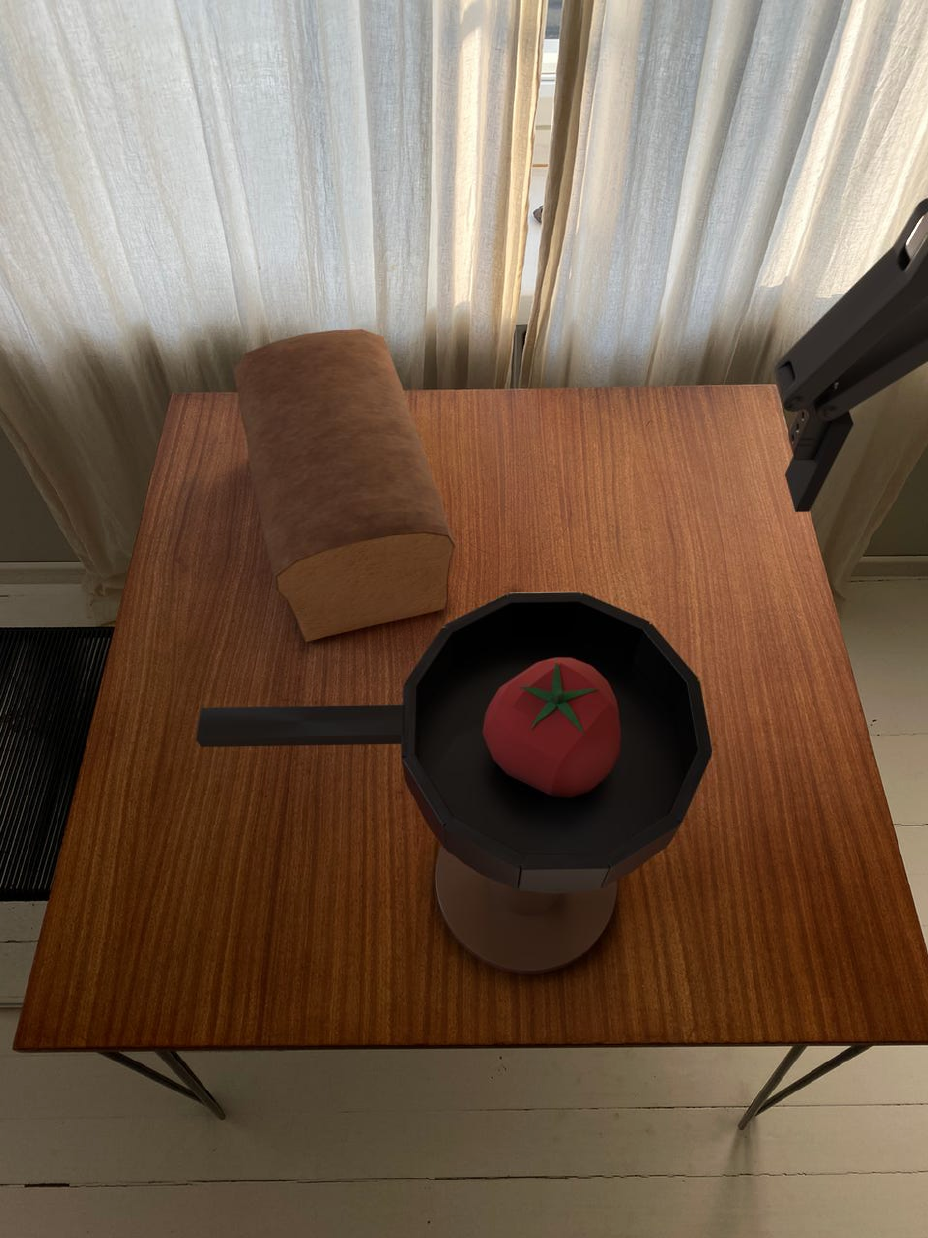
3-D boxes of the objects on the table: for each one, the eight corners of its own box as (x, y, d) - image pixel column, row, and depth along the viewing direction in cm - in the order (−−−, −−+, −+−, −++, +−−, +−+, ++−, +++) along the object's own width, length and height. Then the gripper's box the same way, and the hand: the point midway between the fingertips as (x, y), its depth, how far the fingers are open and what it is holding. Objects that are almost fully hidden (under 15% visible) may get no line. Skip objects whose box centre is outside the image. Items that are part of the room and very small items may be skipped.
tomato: (462, 757, 53) (460, 704, 47) (540, 669, 57) (548, 608, 51) (568, 838, 51) (581, 792, 45) (644, 740, 54) (665, 684, 48)
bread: (293, 650, 91) (261, 558, 78) (253, 447, 107) (221, 341, 93) (460, 610, 94) (458, 514, 80) (397, 418, 109) (386, 310, 96)
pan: (635, 983, 73) (733, 866, 46) (285, 988, 73) (172, 875, 46) (613, 785, 83) (683, 589, 55) (303, 790, 83) (219, 596, 55)
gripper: (1483, 22, 32) (1119, 437, 50) (801, 32, 32) (682, 443, 50) (1635, 133, 28) (1179, 541, 46) (853, 145, 28) (704, 549, 46)
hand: (920, 491), depth 48 cm, fingers open, 13 cm apart
